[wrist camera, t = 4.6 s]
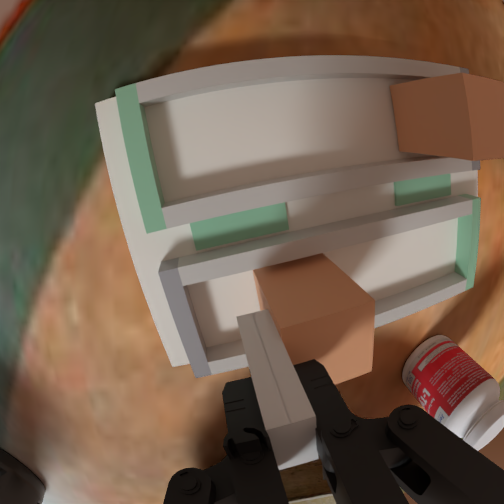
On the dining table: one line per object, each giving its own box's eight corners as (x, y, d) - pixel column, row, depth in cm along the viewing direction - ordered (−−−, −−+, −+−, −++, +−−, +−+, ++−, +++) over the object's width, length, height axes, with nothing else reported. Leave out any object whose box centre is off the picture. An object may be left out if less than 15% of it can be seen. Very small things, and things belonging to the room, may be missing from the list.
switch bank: (173, 353, 20) (171, 382, 17) (103, 106, 14) (85, 99, 11) (461, 268, 22) (484, 281, 19) (452, 75, 17) (480, 71, 14)
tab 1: (264, 328, 18) (291, 398, 13) (252, 268, 17) (280, 328, 11) (326, 311, 19) (371, 371, 13) (321, 252, 17) (374, 300, 12)
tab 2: (399, 151, 16) (473, 160, 11) (389, 85, 15) (462, 72, 9) (443, 147, 17) (514, 157, 11) (436, 88, 15) (506, 82, 10)
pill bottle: (391, 366, 24) (460, 451, 14) (440, 320, 24) (521, 390, 13) (409, 392, 26) (466, 465, 16) (452, 353, 26) (517, 416, 16)
